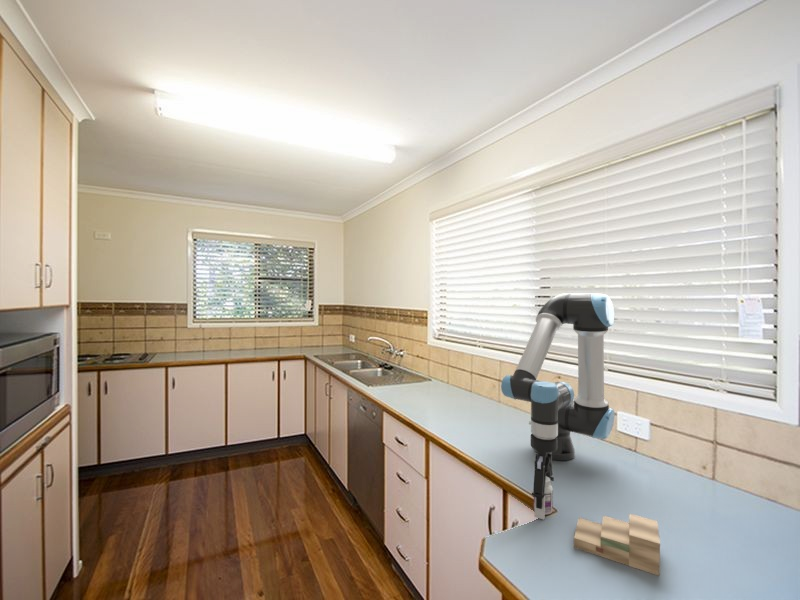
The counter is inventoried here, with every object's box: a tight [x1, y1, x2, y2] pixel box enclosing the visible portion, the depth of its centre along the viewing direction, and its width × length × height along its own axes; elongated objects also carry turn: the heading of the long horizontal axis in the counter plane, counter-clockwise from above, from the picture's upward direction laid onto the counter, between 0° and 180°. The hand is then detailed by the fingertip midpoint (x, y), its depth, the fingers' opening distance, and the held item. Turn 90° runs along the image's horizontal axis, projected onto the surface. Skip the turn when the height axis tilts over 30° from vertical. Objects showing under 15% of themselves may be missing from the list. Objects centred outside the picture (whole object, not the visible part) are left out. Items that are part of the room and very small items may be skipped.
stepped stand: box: [573, 513, 661, 577], centre depth 95 cm, size 10×18×8 cm, turn 58°
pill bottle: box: [533, 476, 554, 516], centre depth 112 cm, size 5×5×10 cm
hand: (542, 509), depth 112 cm, fingers open, 9 cm apart
